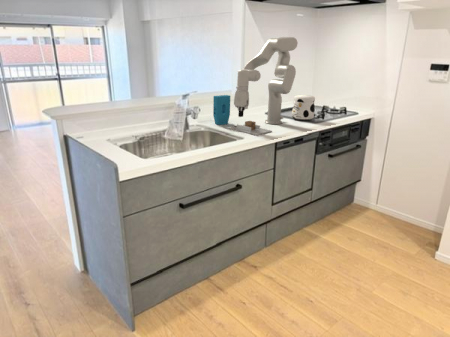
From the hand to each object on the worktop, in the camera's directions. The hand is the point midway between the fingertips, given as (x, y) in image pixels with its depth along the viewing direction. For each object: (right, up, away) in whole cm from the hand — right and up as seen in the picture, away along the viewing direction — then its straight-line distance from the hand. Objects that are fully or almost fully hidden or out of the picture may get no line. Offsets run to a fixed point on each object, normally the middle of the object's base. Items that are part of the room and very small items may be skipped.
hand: (240, 116), depth 227 cm
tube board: (+6, -10, -2) cm, 12 cm away
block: (-13, -3, +15) cm, 20 cm away
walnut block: (+6, -9, -2) cm, 11 cm away
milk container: (+50, +3, +37) cm, 62 cm away
